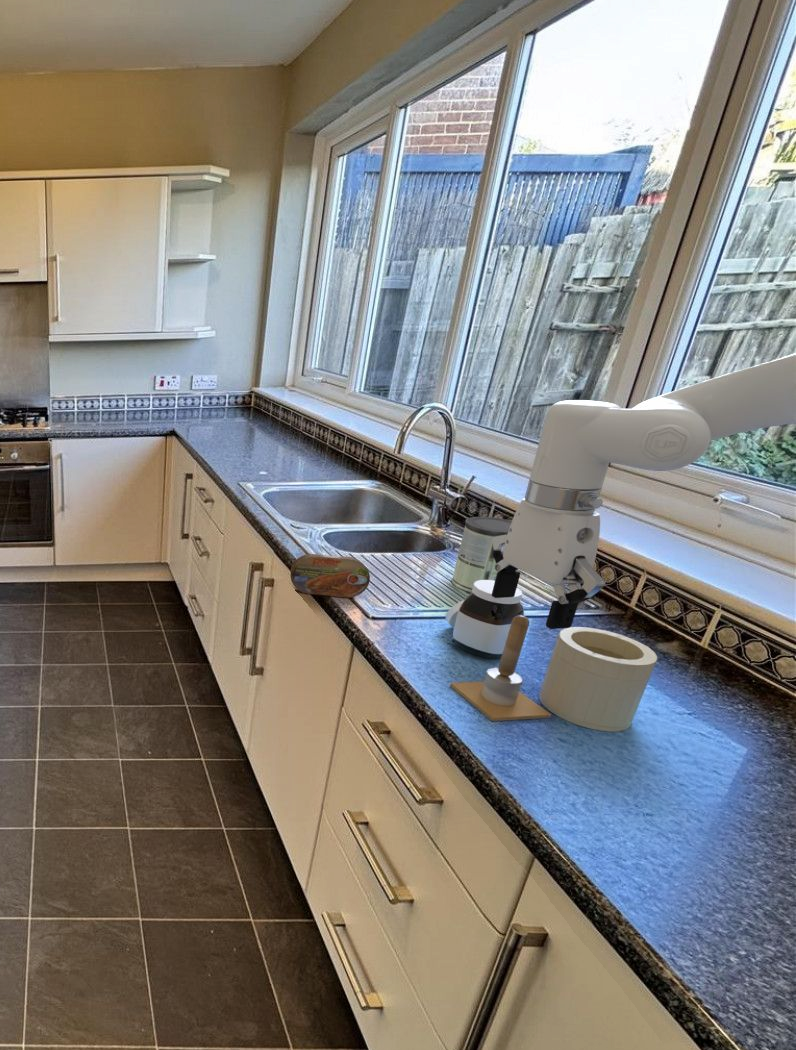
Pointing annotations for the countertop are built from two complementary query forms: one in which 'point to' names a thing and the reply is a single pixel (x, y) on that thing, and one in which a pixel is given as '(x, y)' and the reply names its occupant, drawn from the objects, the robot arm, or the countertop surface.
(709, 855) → the countertop surface
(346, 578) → the tin
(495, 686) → the round handled stamp
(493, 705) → the mat
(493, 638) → the spread jar
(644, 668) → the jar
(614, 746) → the countertop surface
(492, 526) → the coffee can
